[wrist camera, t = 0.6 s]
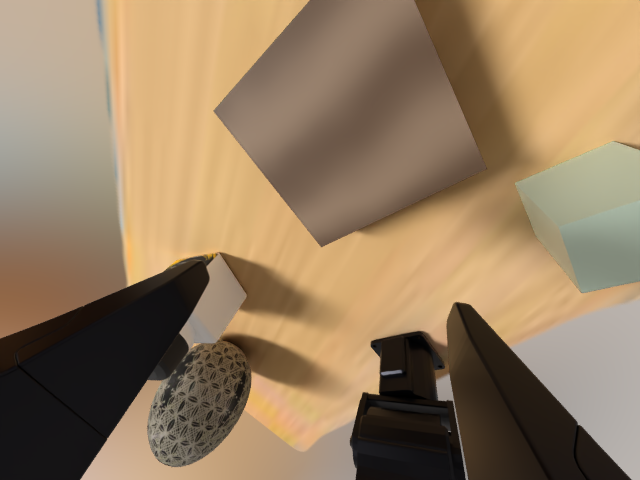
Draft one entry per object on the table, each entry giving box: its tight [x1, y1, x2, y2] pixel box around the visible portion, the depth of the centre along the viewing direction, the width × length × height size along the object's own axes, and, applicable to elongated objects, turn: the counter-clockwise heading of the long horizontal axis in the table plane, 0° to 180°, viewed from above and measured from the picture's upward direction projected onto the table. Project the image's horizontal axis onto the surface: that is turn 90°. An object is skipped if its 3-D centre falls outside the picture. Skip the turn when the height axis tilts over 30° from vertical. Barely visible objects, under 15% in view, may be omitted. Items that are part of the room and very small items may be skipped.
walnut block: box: [214, 0, 487, 247], centre depth 17 cm, size 12×12×4 cm
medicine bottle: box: [148, 253, 247, 380], centre depth 27 cm, size 7×7×12 cm
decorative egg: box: [147, 340, 251, 467], centre depth 35 cm, size 12×12×15 cm
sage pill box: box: [515, 141, 640, 293], centre depth 15 cm, size 5×5×6 cm
